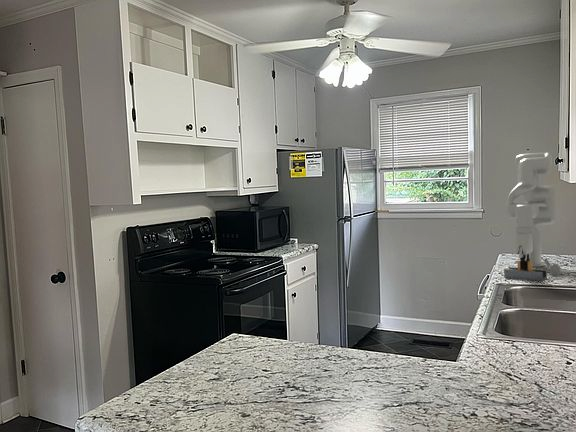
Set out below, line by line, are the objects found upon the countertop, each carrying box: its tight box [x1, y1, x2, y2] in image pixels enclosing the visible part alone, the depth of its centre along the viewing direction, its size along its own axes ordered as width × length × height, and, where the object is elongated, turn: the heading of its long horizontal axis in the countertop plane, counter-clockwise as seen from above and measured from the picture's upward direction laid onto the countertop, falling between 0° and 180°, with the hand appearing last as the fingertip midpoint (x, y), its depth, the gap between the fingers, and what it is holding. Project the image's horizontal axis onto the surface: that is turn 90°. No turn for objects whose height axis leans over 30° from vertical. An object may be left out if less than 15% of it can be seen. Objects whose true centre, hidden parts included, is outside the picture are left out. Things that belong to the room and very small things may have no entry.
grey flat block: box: [503, 266, 548, 282], centre depth 232 cm, size 7×17×4 cm, turn 45°
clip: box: [517, 259, 534, 271], centre depth 231 cm, size 2×6×6 cm, turn 45°
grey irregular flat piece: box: [543, 257, 561, 276], centre depth 236 cm, size 7×2×8 cm, turn 55°
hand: (525, 268), depth 231 cm, fingers closed on clip, 2 cm apart
